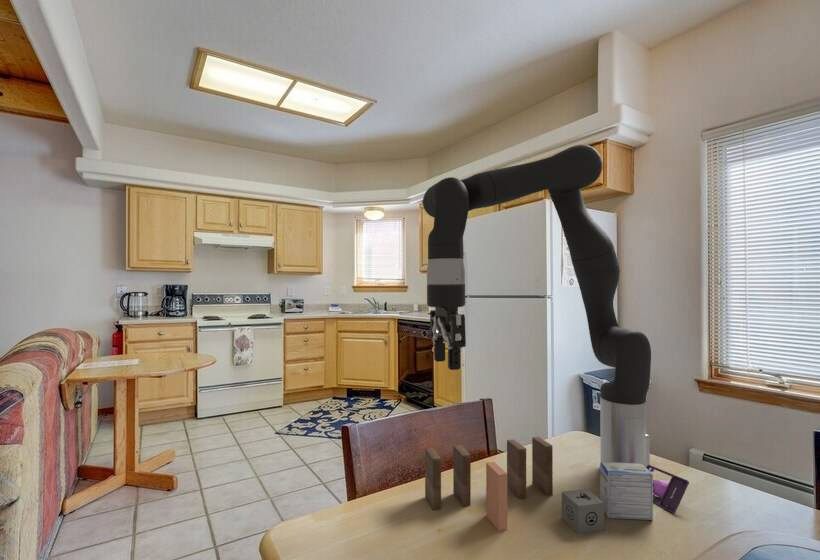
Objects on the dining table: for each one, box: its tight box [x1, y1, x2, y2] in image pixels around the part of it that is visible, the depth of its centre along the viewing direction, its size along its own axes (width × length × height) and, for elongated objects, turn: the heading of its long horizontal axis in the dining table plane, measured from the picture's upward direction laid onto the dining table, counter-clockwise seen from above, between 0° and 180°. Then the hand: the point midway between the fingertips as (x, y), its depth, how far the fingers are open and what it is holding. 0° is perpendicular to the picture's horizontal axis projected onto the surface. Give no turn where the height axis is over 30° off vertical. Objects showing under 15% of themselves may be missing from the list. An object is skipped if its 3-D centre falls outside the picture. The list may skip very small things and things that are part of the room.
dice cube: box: [561, 488, 605, 535], centre depth 74 cm, size 5×5×5 cm
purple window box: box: [646, 464, 690, 515], centre depth 82 cm, size 7×5×9 cm
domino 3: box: [485, 461, 508, 532], centre depth 74 cm, size 2×5×10 cm, turn 15°
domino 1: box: [424, 447, 442, 511], centre depth 80 cm, size 2×5×10 cm, turn 15°
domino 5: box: [531, 436, 554, 497], centre depth 86 cm, size 2×5×10 cm, turn 15°
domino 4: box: [506, 438, 527, 500], centre depth 85 cm, size 2×5×10 cm, turn 15°
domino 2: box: [452, 444, 472, 507], centre depth 82 cm, size 2×5×10 cm, turn 15°
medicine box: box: [599, 461, 654, 521], centre depth 77 cm, size 8×4×9 cm, turn 84°
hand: (446, 365), depth 81 cm, fingers open, 8 cm apart
